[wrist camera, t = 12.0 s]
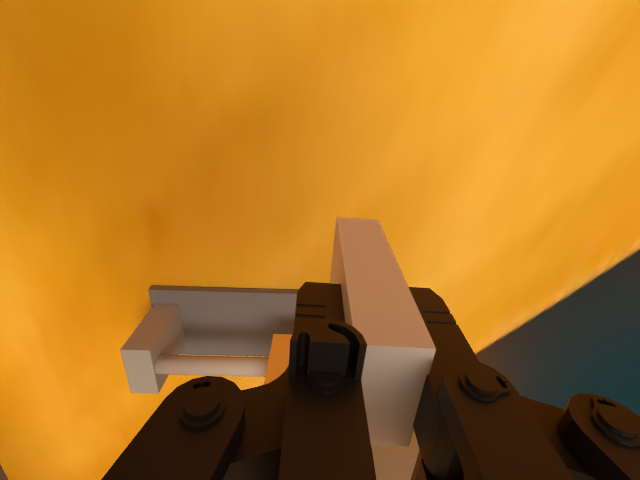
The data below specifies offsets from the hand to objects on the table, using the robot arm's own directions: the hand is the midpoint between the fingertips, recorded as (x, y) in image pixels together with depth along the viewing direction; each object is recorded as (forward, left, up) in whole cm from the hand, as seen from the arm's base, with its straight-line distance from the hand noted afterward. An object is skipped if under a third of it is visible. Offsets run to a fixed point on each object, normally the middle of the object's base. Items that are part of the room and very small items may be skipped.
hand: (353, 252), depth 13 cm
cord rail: (-6, -23, -25) cm, 35 cm away
